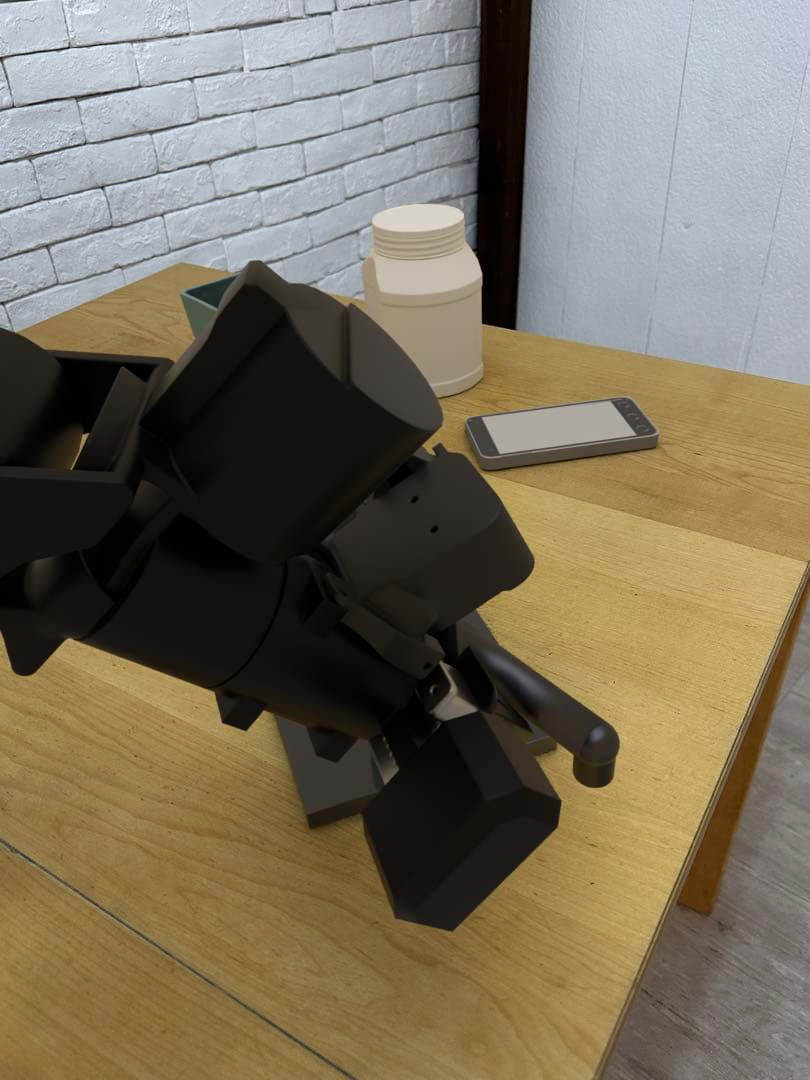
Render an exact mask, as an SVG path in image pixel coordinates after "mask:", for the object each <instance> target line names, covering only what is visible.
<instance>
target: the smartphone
mask: <svg viewBox="0 0 810 1080" xmlns="http://www.w3.org/2000/svg"><path fill="white" fill-rule="evenodd" d="M464 433H465V435H466V438H467V440H468V442H469V444H470V446H471V449H472V451H473V454H474V456H475V458H476V460H477V462H478V464H479V466H480V468H482V469H484V470H488V471H490V470H491V471H492V470H493V471H494V470H500V469H508V468H515V467H523V466H529V465H537V464H545V463H550V462H557V461H558V462H559V461H565V460H573V459H580V458H589V457H594V456H601V455H608V454H609V455H610V454H615V453H623V452H629V451H636V450H637V451H639V450H643V449H651V448H655V447H657V445H658V443H659V435H660V430H659V429H658V427H657V426H656V425H655V424H654V423H653V422H652V420H651V419H650V418H649V416H647V414H646V413H645V412H644V411H643V409H642V408H641V407H640V406H639V405H638V403H637V402H636V401H635V399H634V398H632V397H630V396H625V395H623V396H613V397H606V398H598V399H597V398H596V399H591V400H584V401H575V402H568V403H562V404H561V403H560V404H553V405H545V406H539V407H538V406H537V407H530V408H523V409H515V410H507V411H501V412H500V411H499V412H493V413H486V414H485V413H484V414H478V415H471V416H468V417H466V418H465V419H464Z"/></svg>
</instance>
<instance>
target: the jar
mask: <svg viewBox="0 0 810 1080" xmlns="http://www.w3.org/2000/svg"><path fill="white" fill-rule="evenodd" d="M465 225H466V222H465V214H464V212H463V211H462V210H461V209H459V208H457V207H454V206H451V205H446V204H440V203H439V204H438V203H415V204H414V203H413V204H406V205H400V206H399V205H398V206H395V207H394V206H393V207H392V208H391V207H390V208H387V209H385V210H382V211H380V212H378V213H376V214H375V215H374V216H372V218H371V228H372V229H371V230H372V231H371V233H372V241H373V242H372V248H371V249H370V251H369V252H368V254H367V256H366V257H365V258H364V260H363V262H362V263H361V264H362V265H361V268H360V271H361V280H362V284H363V296H364V307H365V313H366V314H367V315H368V316H369V317H370V318H372V319H373V320H374V321H375V322H376V323H377V324H378V325H379V326H380V327H381V328H382V329H384V330H385V331H386V332H387V333H388V334H389V335H390V336H391V338H392V339H393V340H394V341H395V342H396V343H397V344H398V345H399V346H400V347H401V348H402V349H403V350H404V351H405V353H406V354H407V355H408V356H409V357H410V359H411V360H412V361H413V362H414V363H415V365H416V366H417V367H418V369H419V370H420V371H421V373H422V374H423V376H424V377H425V378H426V380H427V381H428V383H429V385H430V386H431V388H432V390H433V391H434V393H435V395H436V397H437V399H441V398H445V397H451V396H454V395H457V394H460V393H462V392H466V391H467V390H469V389H471V388H473V387H474V386H476V385H477V384H478V383H479V382H480V381H481V380H482V378H483V377H484V362H483V317H482V316H483V315H482V314H483V312H482V310H483V309H482V307H483V306H482V302H483V301H482V287H483V271H482V269H481V265H480V262H479V259H478V258H477V256H476V254H475V253H474V251H473V250H472V248H471V247H470V245H469V244H468V243H467V240H466V233H465V232H466V227H465Z"/></svg>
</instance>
